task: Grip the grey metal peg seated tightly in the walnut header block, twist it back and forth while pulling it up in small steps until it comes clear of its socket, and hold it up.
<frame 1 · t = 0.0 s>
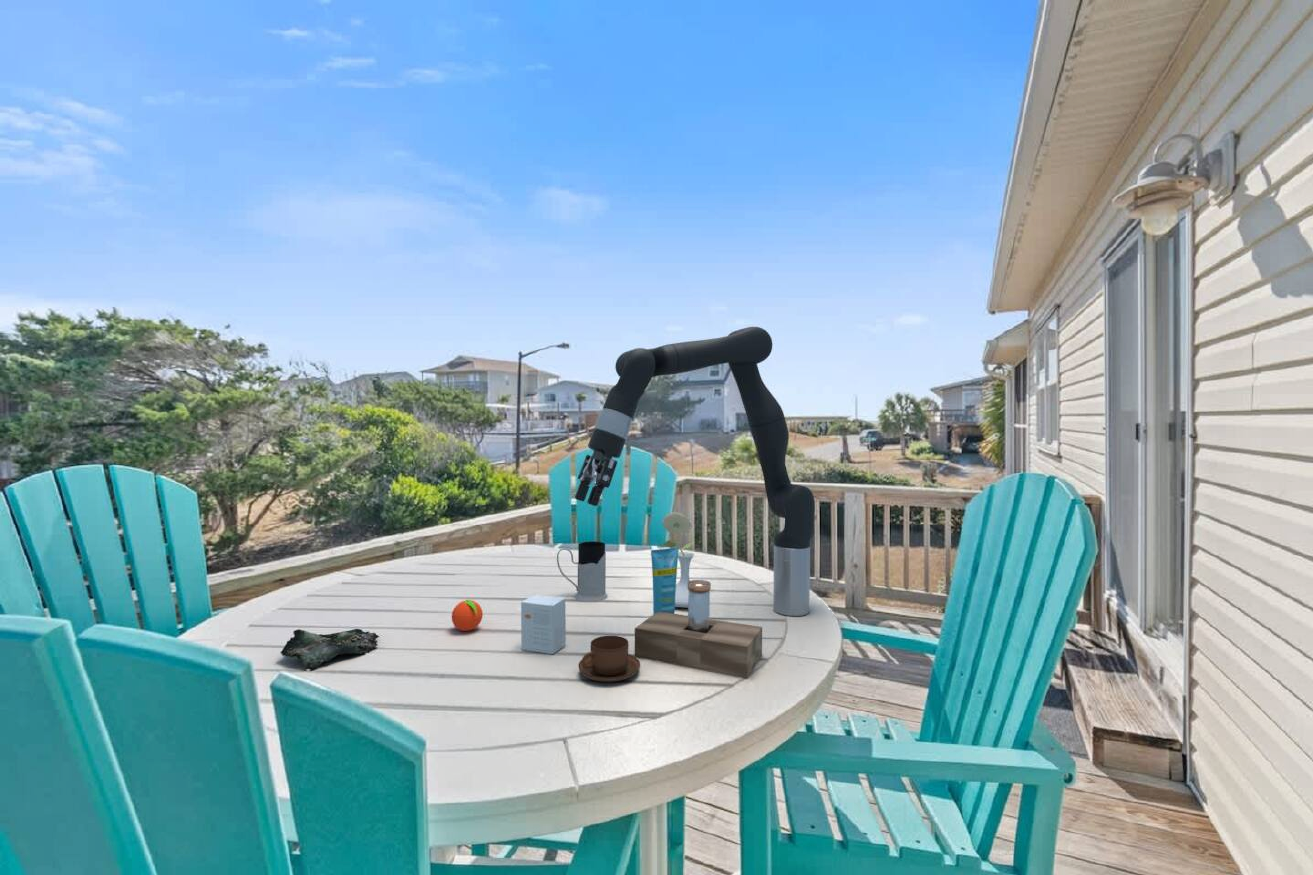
hand: (585, 502, 123), 31 cm above the table, tool tilted 20°, fingers open, 8 cm apart
cup and saucer: (609, 674, 110), on the table
glass holder: (581, 597, 159), on the table
decorative rock: (335, 653, 120), on the table
plug: (698, 616, 118), point 8 cm above the table, slide at 0.0 cm
small box: (543, 648, 122), on the table
tube: (664, 629, 134), on the table
flower in vase: (682, 605, 153), on the table
header: (698, 655, 118), on the table
clementine: (468, 631, 132), on the table
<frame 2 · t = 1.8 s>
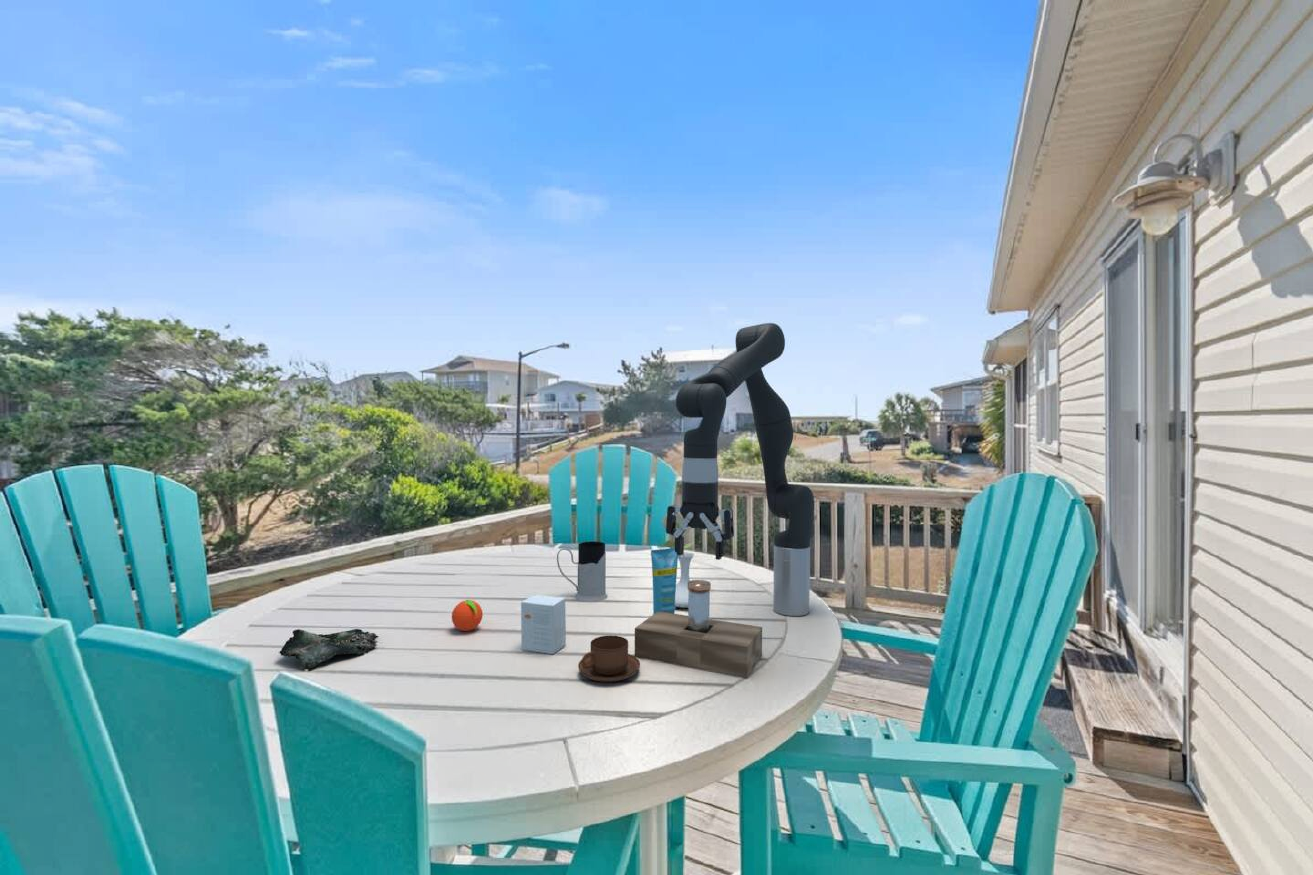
hand: (699, 556, 118), 21 cm above the table, tool pointing down, fingers open, 8 cm apart
nothing on the table moved.
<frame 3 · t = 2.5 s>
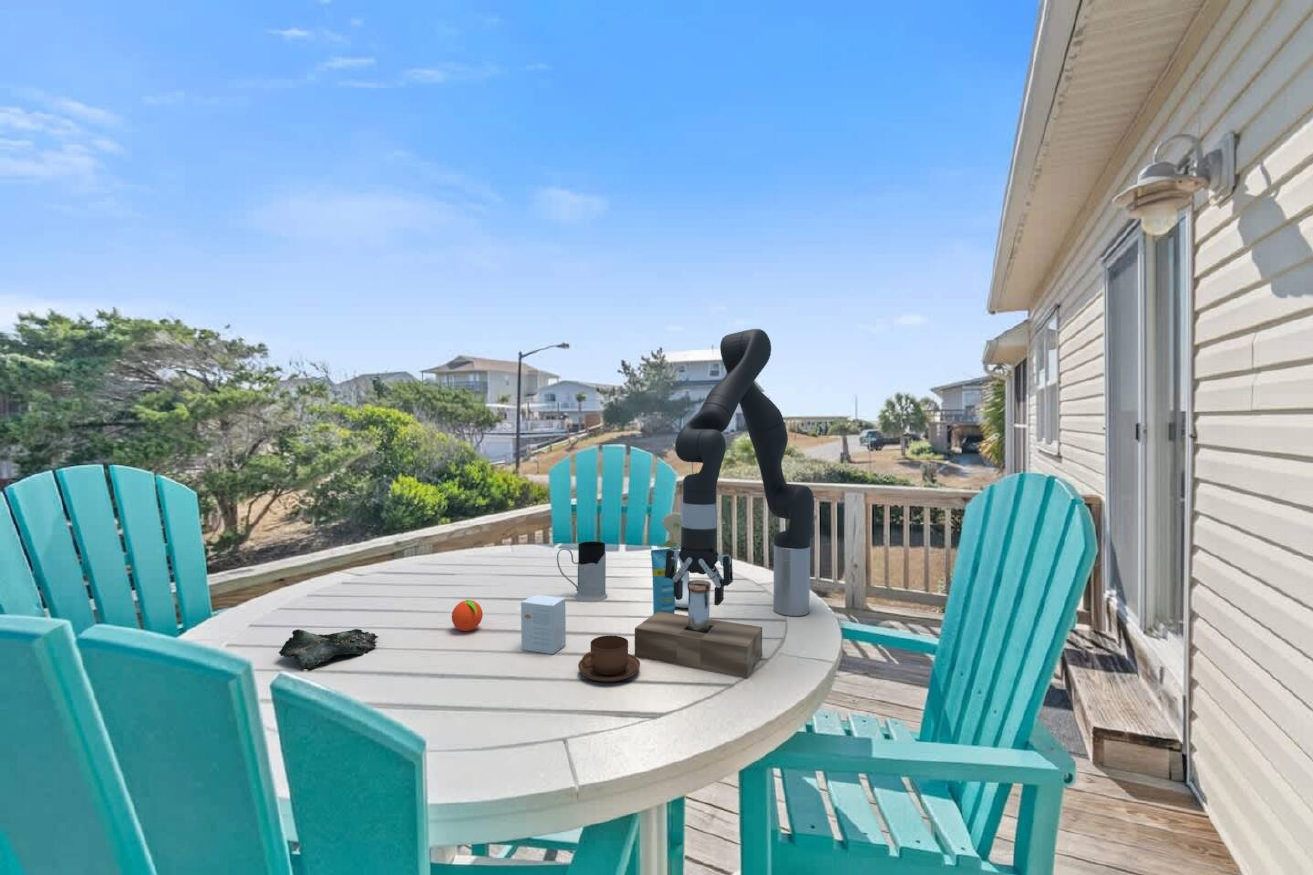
hand: (698, 601, 118), 11 cm above the table, tool pointing down, fingers open, 8 cm apart
nothing on the table moved.
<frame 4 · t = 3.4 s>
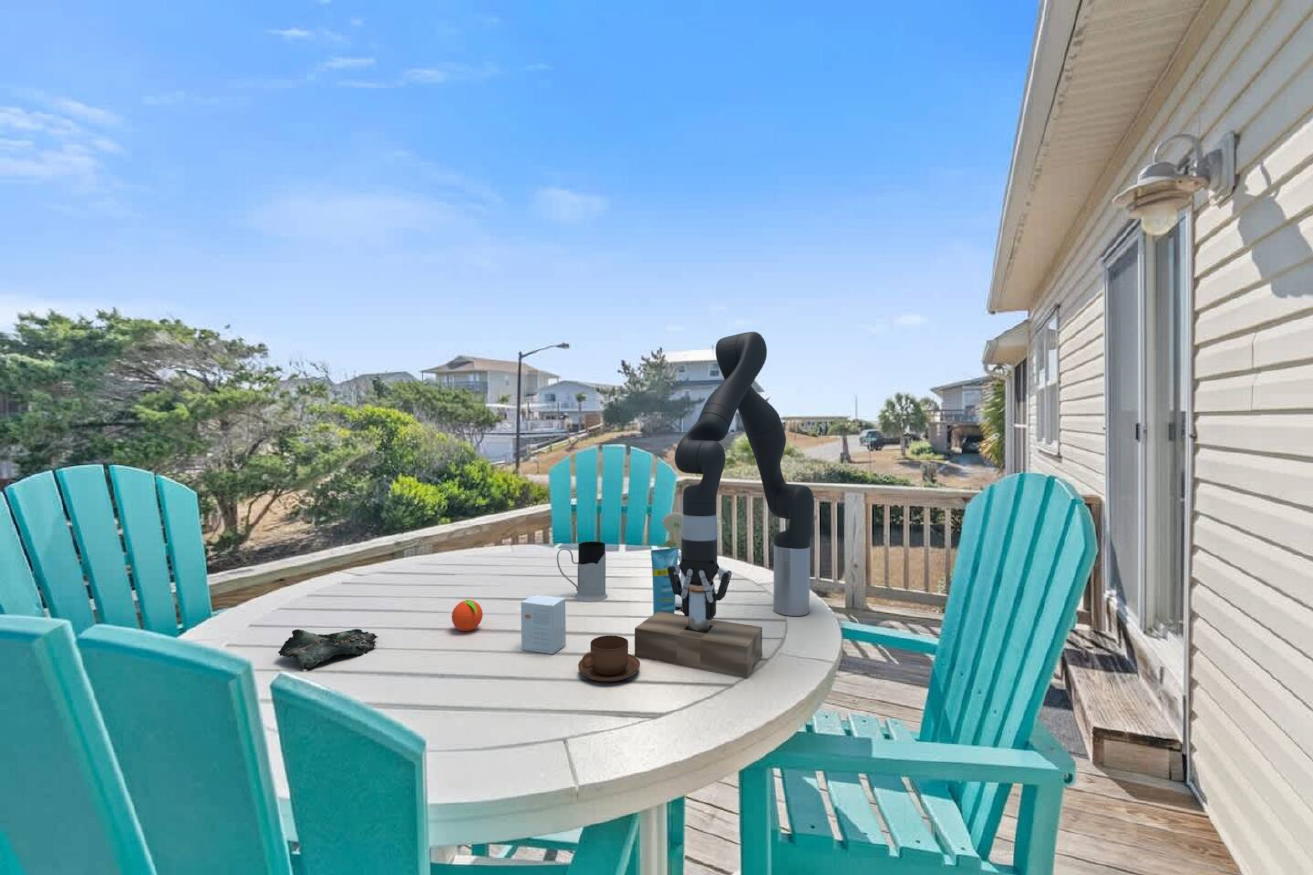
hand: (698, 616, 118), 8 cm above the table, tool pointing down, fingers closed on plug, 4 cm apart
plug: (698, 616, 118), point 8 cm above the table, slide at 0.0 cm, touching gripper
everything else where it was.
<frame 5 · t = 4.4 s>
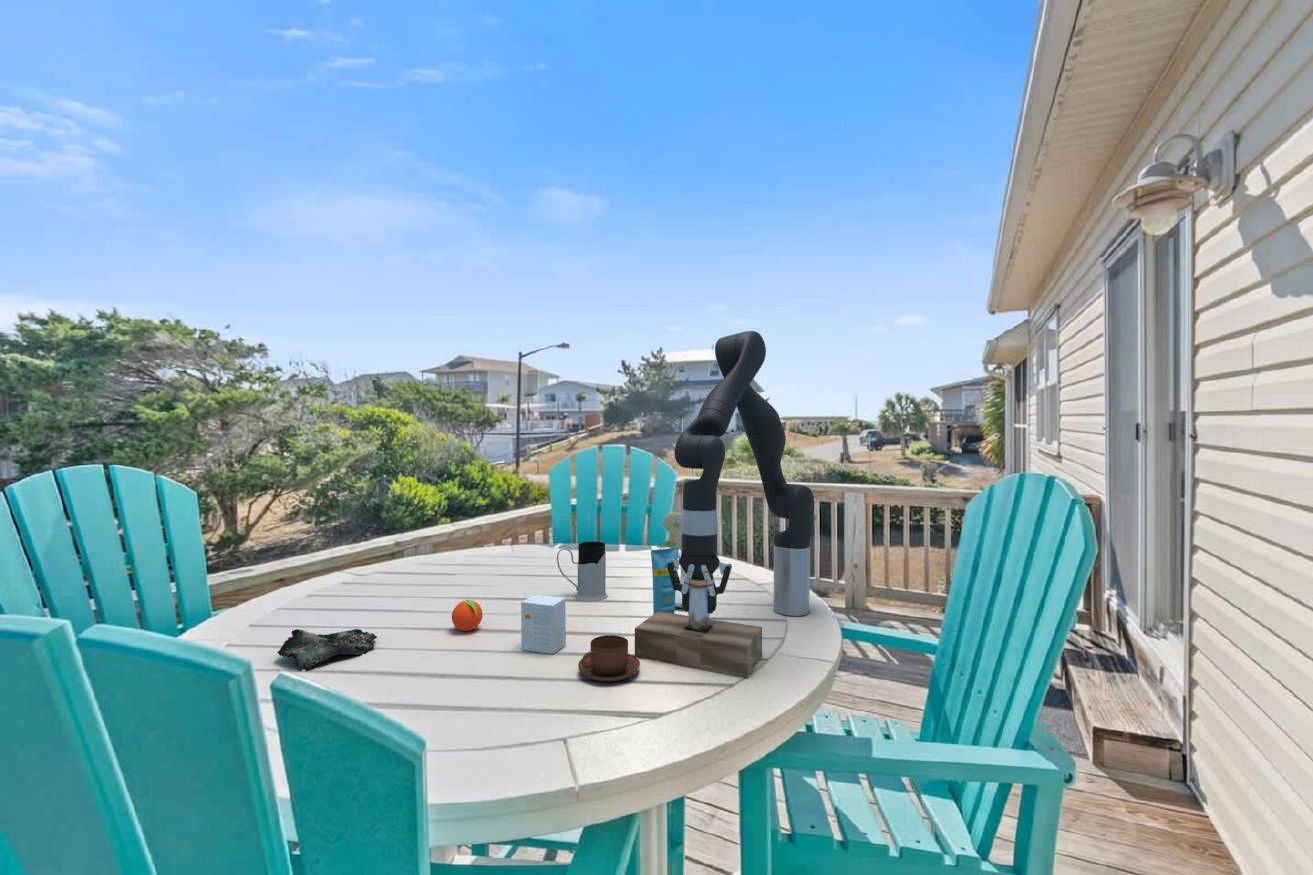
hand: (699, 611, 118), 9 cm above the table, tool pointing down, fingers closed on plug, 4 cm apart
plug: (698, 611, 118), point 9 cm above the table, slide at 1.0 cm, touching gripper
everything else where it was.
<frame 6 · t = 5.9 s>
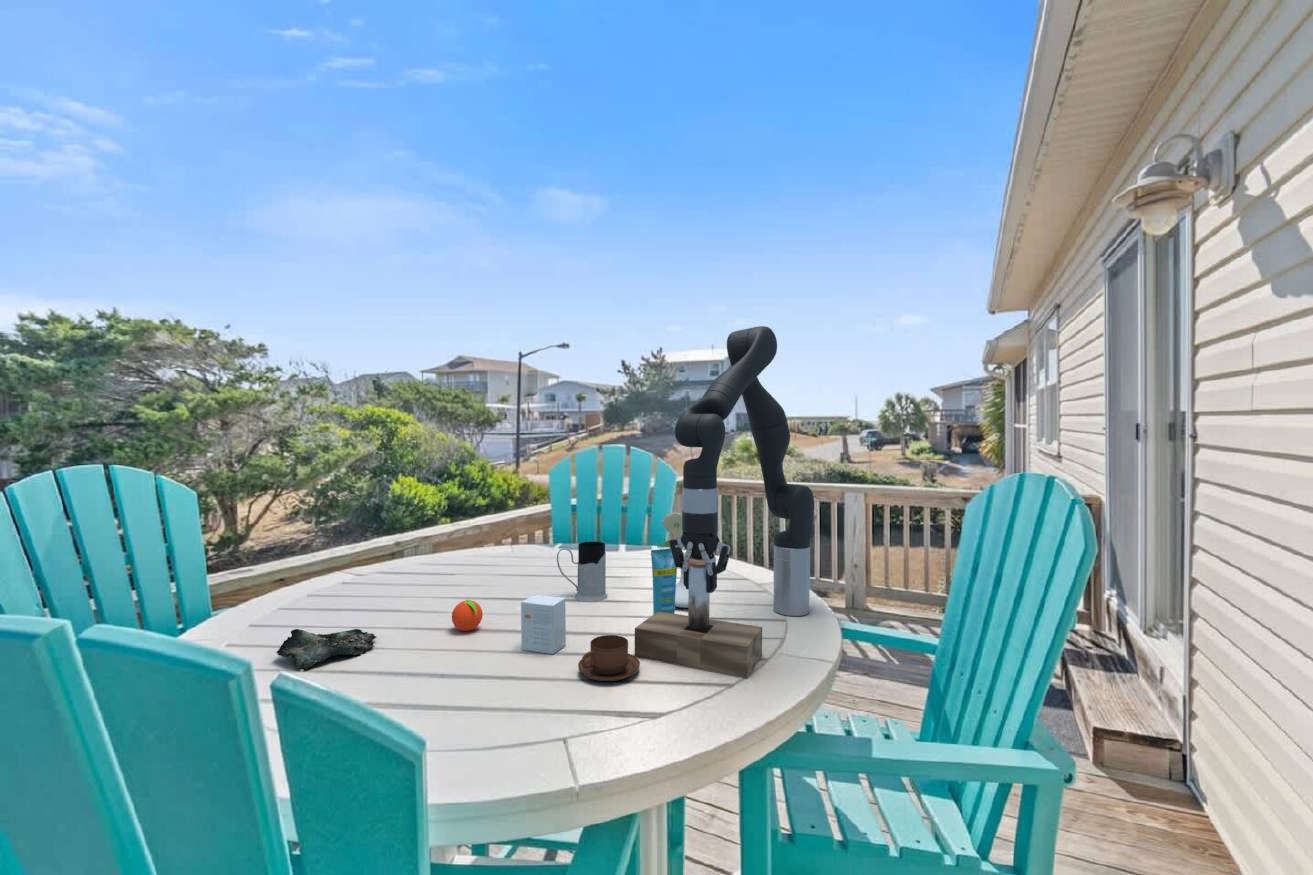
hand: (699, 589, 118), 14 cm above the table, tool pointing down, fingers closed on plug, 4 cm apart
plug: (699, 591, 118), point 14 cm above the table, slide at 5.3 cm, touching gripper
everything else where it was.
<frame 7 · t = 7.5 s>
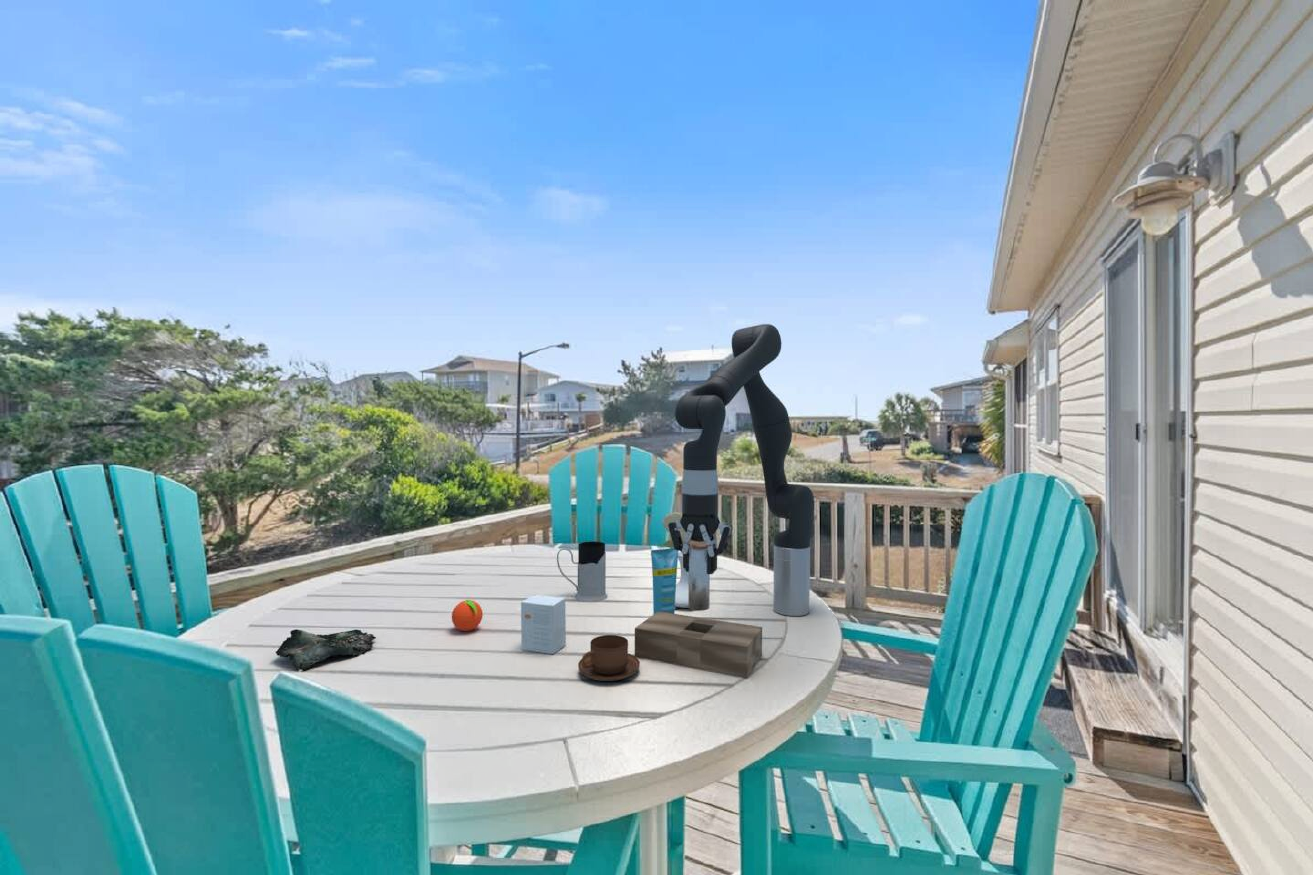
hand: (699, 571, 118), 18 cm above the table, tool pointing down, fingers closed on plug, 4 cm apart
plug: (699, 573, 118), point 17 cm above the table, slide at 9.1 cm, touching gripper
everything else where it was.
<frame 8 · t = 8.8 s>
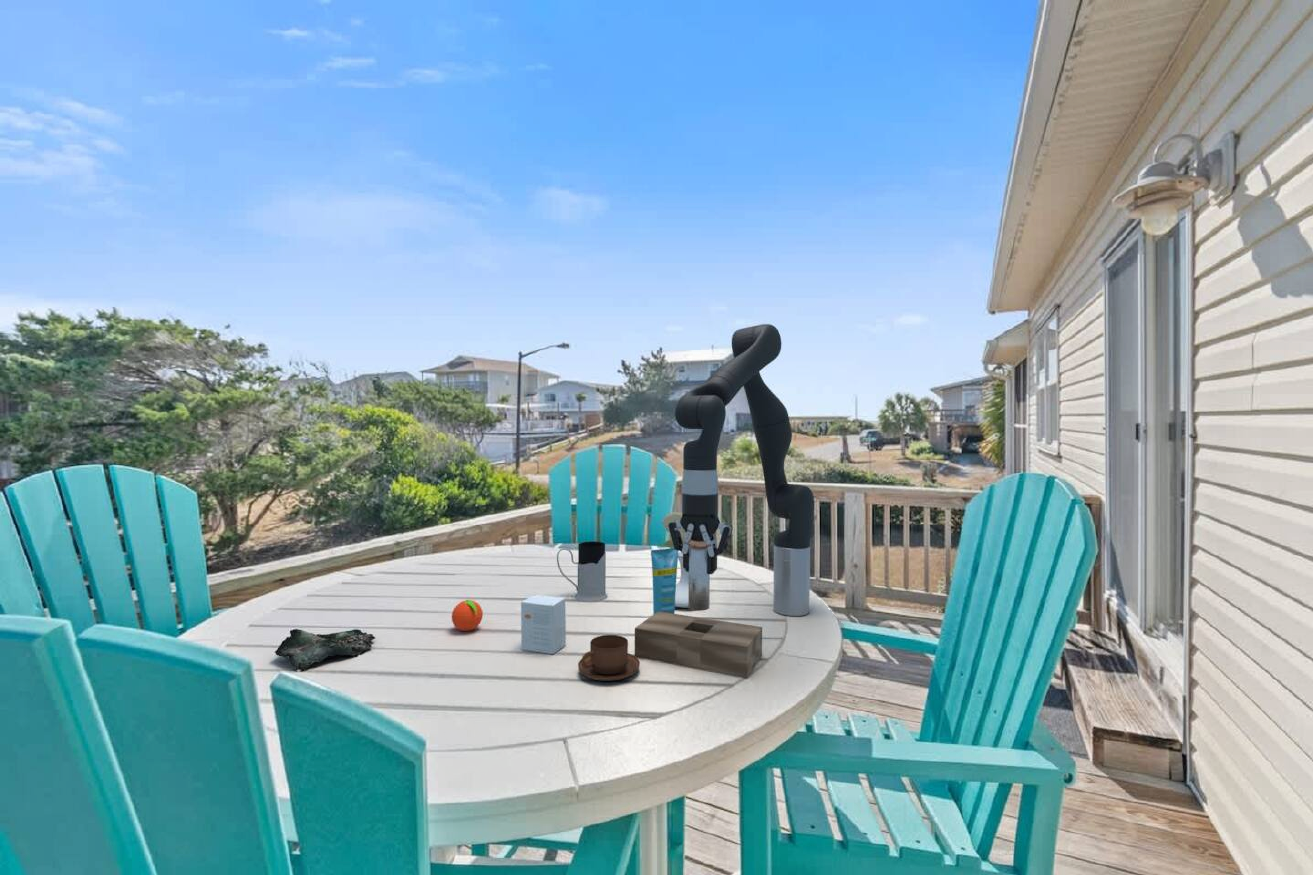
hand: (699, 571, 118), 18 cm above the table, tool pointing down, fingers closed on plug, 4 cm apart
plug: (699, 573, 118), point 17 cm above the table, slide at 9.1 cm, touching gripper
everything else where it was.
at the end: plug slide at 9.1 cm; the gripper is holding plug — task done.
